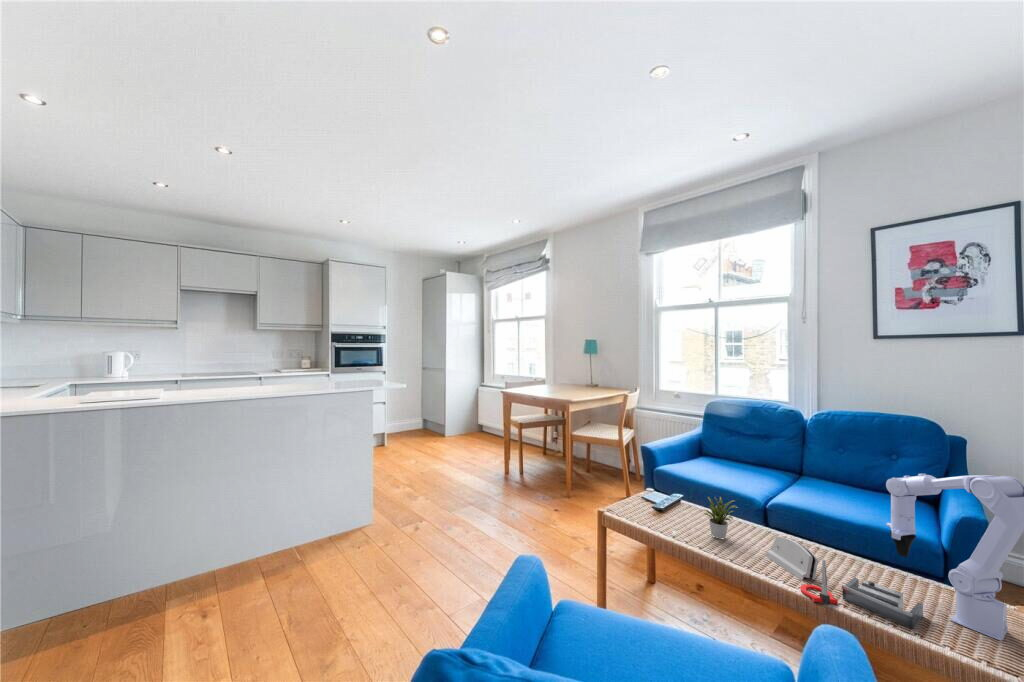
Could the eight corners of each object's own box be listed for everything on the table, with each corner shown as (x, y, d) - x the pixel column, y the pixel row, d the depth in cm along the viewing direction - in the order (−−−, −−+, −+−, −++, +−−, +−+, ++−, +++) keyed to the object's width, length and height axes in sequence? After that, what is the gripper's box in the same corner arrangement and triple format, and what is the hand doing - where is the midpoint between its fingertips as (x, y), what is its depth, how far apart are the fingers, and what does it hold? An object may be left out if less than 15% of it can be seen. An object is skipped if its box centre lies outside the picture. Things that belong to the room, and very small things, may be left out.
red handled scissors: (795, 586, 134) (811, 603, 125) (794, 546, 135) (810, 560, 125) (823, 589, 133) (841, 606, 123) (822, 548, 133) (840, 562, 124)
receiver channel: (923, 616, 119) (922, 601, 119) (911, 629, 113) (911, 614, 113) (854, 588, 132) (854, 575, 132) (841, 599, 127) (841, 585, 127)
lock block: (903, 610, 122) (903, 591, 122) (898, 619, 118) (898, 600, 118) (864, 595, 129) (864, 577, 129) (858, 603, 125) (858, 585, 125)
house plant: (747, 538, 166) (747, 498, 166) (733, 549, 157) (733, 507, 157) (711, 526, 177) (711, 488, 177) (697, 535, 168) (697, 496, 168)
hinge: (764, 555, 153) (773, 529, 153) (775, 558, 153) (783, 533, 154) (802, 581, 136) (811, 552, 137) (814, 584, 137) (822, 556, 137)
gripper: (893, 505, 141) (894, 544, 141) (879, 515, 134) (879, 556, 133) (922, 512, 135) (922, 553, 135) (908, 523, 128) (908, 566, 127)
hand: (902, 555), depth 134 cm, fingers closed
